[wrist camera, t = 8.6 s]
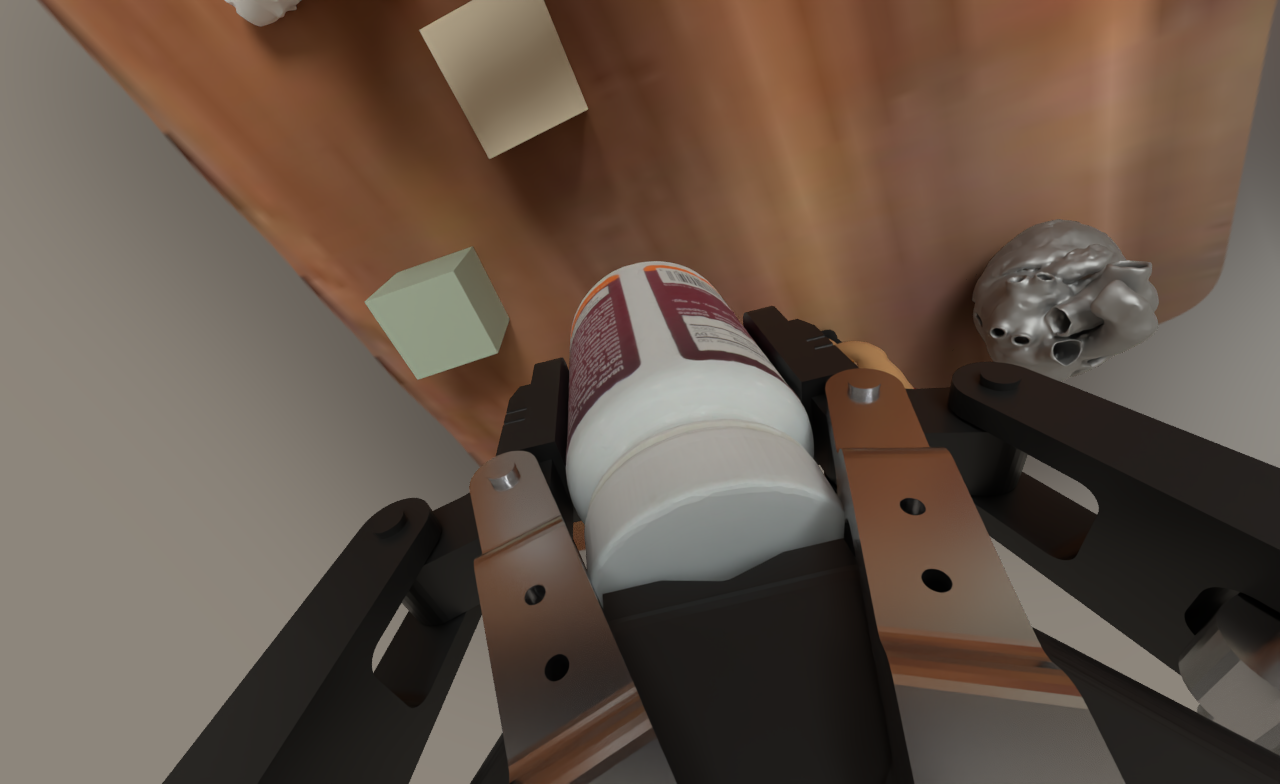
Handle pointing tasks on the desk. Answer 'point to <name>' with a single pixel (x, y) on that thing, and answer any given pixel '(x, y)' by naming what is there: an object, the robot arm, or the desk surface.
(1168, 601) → the robot arm
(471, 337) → the sage block
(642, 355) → the pill bottle
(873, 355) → the action figure
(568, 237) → the desk surface
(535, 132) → the birch block
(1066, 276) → the heart
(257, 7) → the white creature statuette
